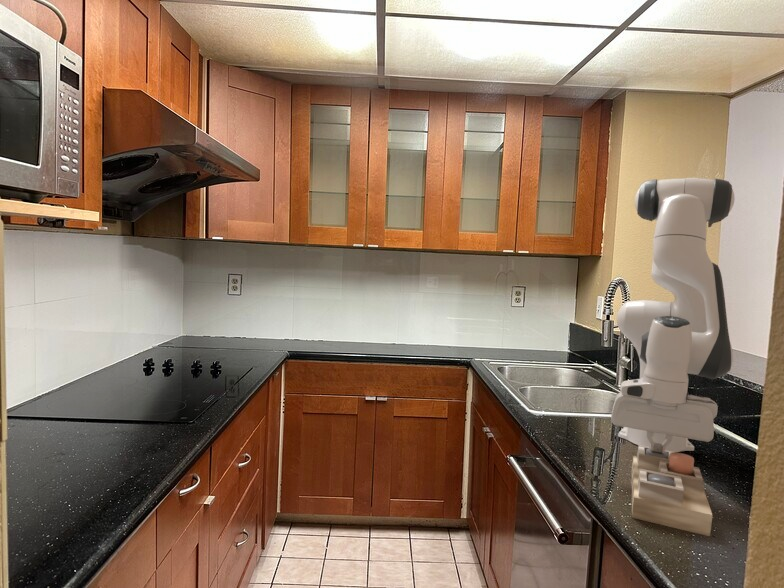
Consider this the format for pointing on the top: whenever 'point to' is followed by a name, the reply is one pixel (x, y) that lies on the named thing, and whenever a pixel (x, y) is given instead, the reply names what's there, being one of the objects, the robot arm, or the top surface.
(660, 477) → the button
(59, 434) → the top surface
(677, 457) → the middle button
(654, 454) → the button
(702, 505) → the control panel
